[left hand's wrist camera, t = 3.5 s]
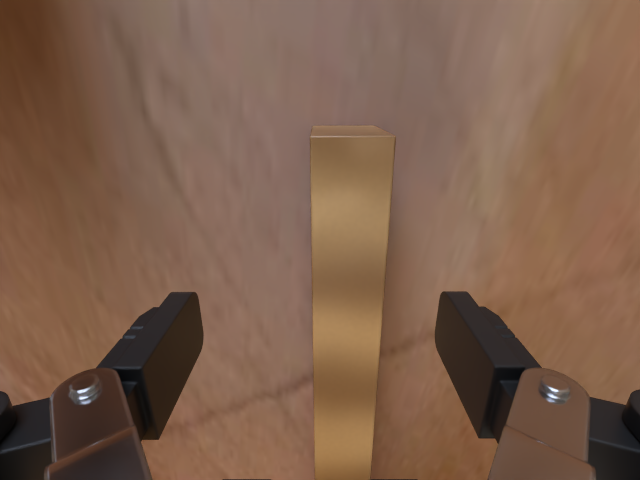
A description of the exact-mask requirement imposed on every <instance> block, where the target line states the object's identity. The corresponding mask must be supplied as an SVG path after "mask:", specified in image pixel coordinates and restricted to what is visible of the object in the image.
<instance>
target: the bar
mask: <svg viewBox="0 0 640 480" xmlns="http://www.w3.org/2000/svg"><path fill="white" fill-rule="evenodd" d="M395 142H396V136H394V135H392V134H390V133H388V132H386V131H384V130H382V129H380V128H378V127H376V126H313V127H312V131H311V135H310V180H311V249H312V318H313V387H314V457H315V480H369V479H370V476H371V463H372V450H373V436H374V423H375V409H376V396H377V383H378V369H379V356H380V343H381V329H382V316H383V302H384V289H385V276H386V262H387V249H388V235H389V222H390V209H391V195H392V182H393V169H394V155H395Z"/></svg>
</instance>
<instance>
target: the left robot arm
mask: <svg viewBox="0 0 640 480" xmlns="http://www.w3.org/2000/svg"><path fill="white" fill-rule="evenodd" d="M435 343H436V348H437V351H438V353H439V355H440V357H441V359H442V362H443V364H444V366H445V368H446V370H447V372H448V374H449V376H450V378H451V381H452V383H453V385H454V387H455V389H456V391H457V393H458V395H459V397H460V400H461V402H462V404H463V406H464V408H465V410H466V412H467V414H468V417H469V419H470V421H471V423H472V425H473V427H474V429H475V431H476V433H477V436H478V438H495V439H496V441H497V443H498V447H497V451H496V454H495V457H494V460H493V463H492V467H491V470H490V473H489V476H488V479H487V480H640V390H636V391H634V392H632V393H631V395H630V397H629V399H628V402H627V404H626V405H623V404H618V403H614V402H610V401H605V400H601V399H596V398H592V397H589V395H588V393H587V392H586V391H585V389H584V388H583V387H582V386H581V385H579V384H578V383H577V382H576V381H574V380H573V379H571V378H570V377H568V376H566V375H564V374H562V373H559V372H557V371H554V370H550V369H546V368H542V367H541V366H540V365H539V364H538V363H537V361H536V360H535V359H534V358H533V357H532V355H531V354H530V353H529V352H528V351H527V349H526V348H525V347H524V346H523V345H522V343H521V342H520V341H519V340H518V339H517V338H515V335H514V334H513V333H512V331H511V330H510V329H508V328H507V325H506V324H505V323H504V322H503V321H502V320H501V318H500V317H499V316H498V315H496V314H495V313H493V312H492V311H490V310H489V309H487V308H486V307H479V306H478V305H477V304H476V302H475V301H474V300H473V298H472V297H471V296H470V295H469V293H468V292H442V293H441V295H440V300H439V307H438V314H437V321H436V327H435ZM202 345H203V326H202V320H201V313H200V306H199V299H198V295H197V294H196V293H195V292H171V293H170V294H169V295H168V296H167V298H166V299H165V300H164V301H163V303H162V304H161V305H160V307H153V308H152V309H150V310H149V311H147V312H146V313H144V314H143V315H141V316H139V318H138V319H137V320H136V321H135V322H134V323H133V325H132V326H131V327H130V329H128V331H127V332H126V333H125V334H124V335H123V338H122V339H120V340H119V341H118V342H117V344H116V345H115V346H114V347H113V348H112V350H111V351H110V352H109V353H108V354H107V356H106V357H105V358H104V359H103V360H102V361H101V363H100V364H99V365H98V366H97V367H96V368H94V369H90V370H86V371H83V372H81V373H78V374H76V375H74V376H72V377H70V378H69V379H67V380H66V381H64V382H63V383H62V384H61V385H59V386H58V387H57V388H56V389H55V391H54V392H53V393H52V395H51V397H50V398H46V399H42V400H37V401H33V402H28V403H24V404H20V405H15V406H12V404H11V401H10V399H9V397H8V395H7V394H6V393H4V392H2V391H0V480H153V479H152V476H151V473H150V470H149V467H148V463H147V460H146V457H145V454H144V451H143V447H142V444H141V441H142V440H159V438H160V436H161V434H162V432H163V429H164V427H165V425H166V423H167V421H168V419H169V417H170V415H171V413H172V411H173V409H174V406H175V404H176V402H177V400H178V398H179V396H180V394H181V392H182V390H183V388H184V386H185V383H186V381H187V379H188V377H189V375H190V373H191V371H192V369H193V367H194V365H195V363H196V360H197V358H198V356H199V354H200V352H201V349H202ZM223 480H271V479H223ZM369 480H417V479H369Z"/></svg>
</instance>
